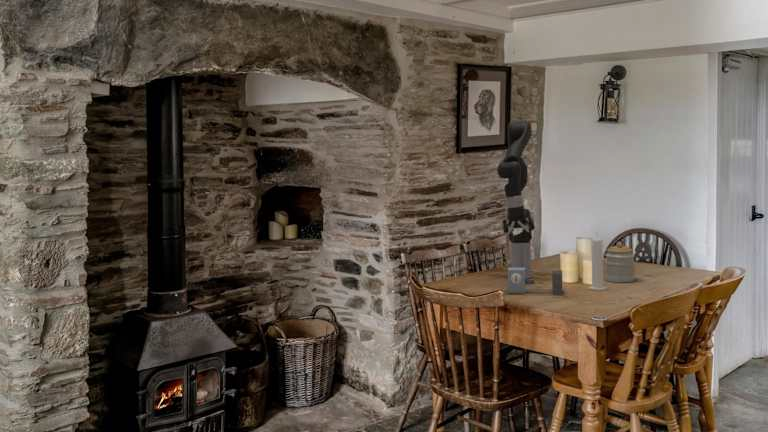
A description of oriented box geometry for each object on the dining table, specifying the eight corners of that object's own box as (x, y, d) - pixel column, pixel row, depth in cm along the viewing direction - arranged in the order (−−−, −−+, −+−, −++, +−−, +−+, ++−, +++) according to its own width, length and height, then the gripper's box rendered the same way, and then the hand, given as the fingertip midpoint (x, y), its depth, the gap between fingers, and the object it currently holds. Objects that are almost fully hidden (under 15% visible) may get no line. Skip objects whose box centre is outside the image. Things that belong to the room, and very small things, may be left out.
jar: (636, 283, 325) (636, 244, 323) (606, 283, 327) (606, 244, 325) (633, 277, 337) (632, 240, 335) (604, 277, 340) (603, 240, 338)
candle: (594, 291, 311) (594, 233, 309) (586, 288, 318) (585, 231, 315) (609, 289, 313) (608, 232, 311) (600, 286, 320) (599, 230, 317)
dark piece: (499, 291, 319) (498, 269, 318) (564, 291, 312) (564, 269, 311) (497, 297, 307) (496, 274, 306) (564, 297, 300) (564, 274, 299)
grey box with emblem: (509, 290, 315) (508, 267, 314) (534, 290, 312) (534, 267, 311) (508, 293, 308) (507, 270, 307) (534, 293, 306) (533, 270, 305)
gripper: (533, 202, 325) (538, 237, 327) (504, 206, 334) (510, 240, 335) (526, 205, 319) (532, 241, 321) (497, 208, 328) (503, 243, 329)
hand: (521, 240), depth 328 cm, fingers open, 8 cm apart
